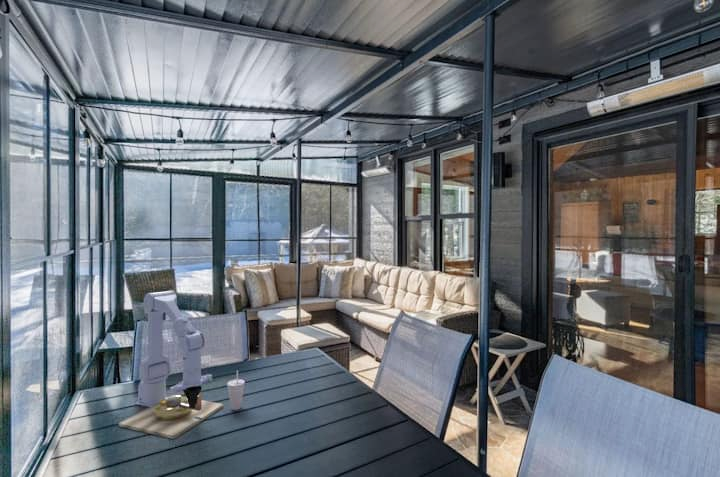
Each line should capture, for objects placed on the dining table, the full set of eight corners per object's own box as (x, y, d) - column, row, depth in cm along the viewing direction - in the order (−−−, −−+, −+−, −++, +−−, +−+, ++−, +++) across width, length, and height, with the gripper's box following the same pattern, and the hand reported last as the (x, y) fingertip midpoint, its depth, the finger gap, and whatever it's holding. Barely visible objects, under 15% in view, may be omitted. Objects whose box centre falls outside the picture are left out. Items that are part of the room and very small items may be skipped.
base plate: (118, 426, 132) (118, 408, 132) (173, 397, 155) (173, 382, 155) (175, 439, 124) (174, 420, 124) (224, 406, 147) (224, 391, 147)
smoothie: (239, 412, 142) (239, 374, 142) (223, 410, 144) (223, 373, 143) (248, 404, 149) (247, 368, 148) (232, 403, 150) (232, 367, 150)
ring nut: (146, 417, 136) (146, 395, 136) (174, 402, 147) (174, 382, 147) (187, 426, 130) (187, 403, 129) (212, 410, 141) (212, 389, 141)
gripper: (178, 377, 125) (178, 419, 125) (217, 364, 137) (217, 402, 137) (166, 372, 129) (166, 413, 129) (205, 360, 141) (205, 397, 141)
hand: (192, 407), depth 133 cm, fingers closed
